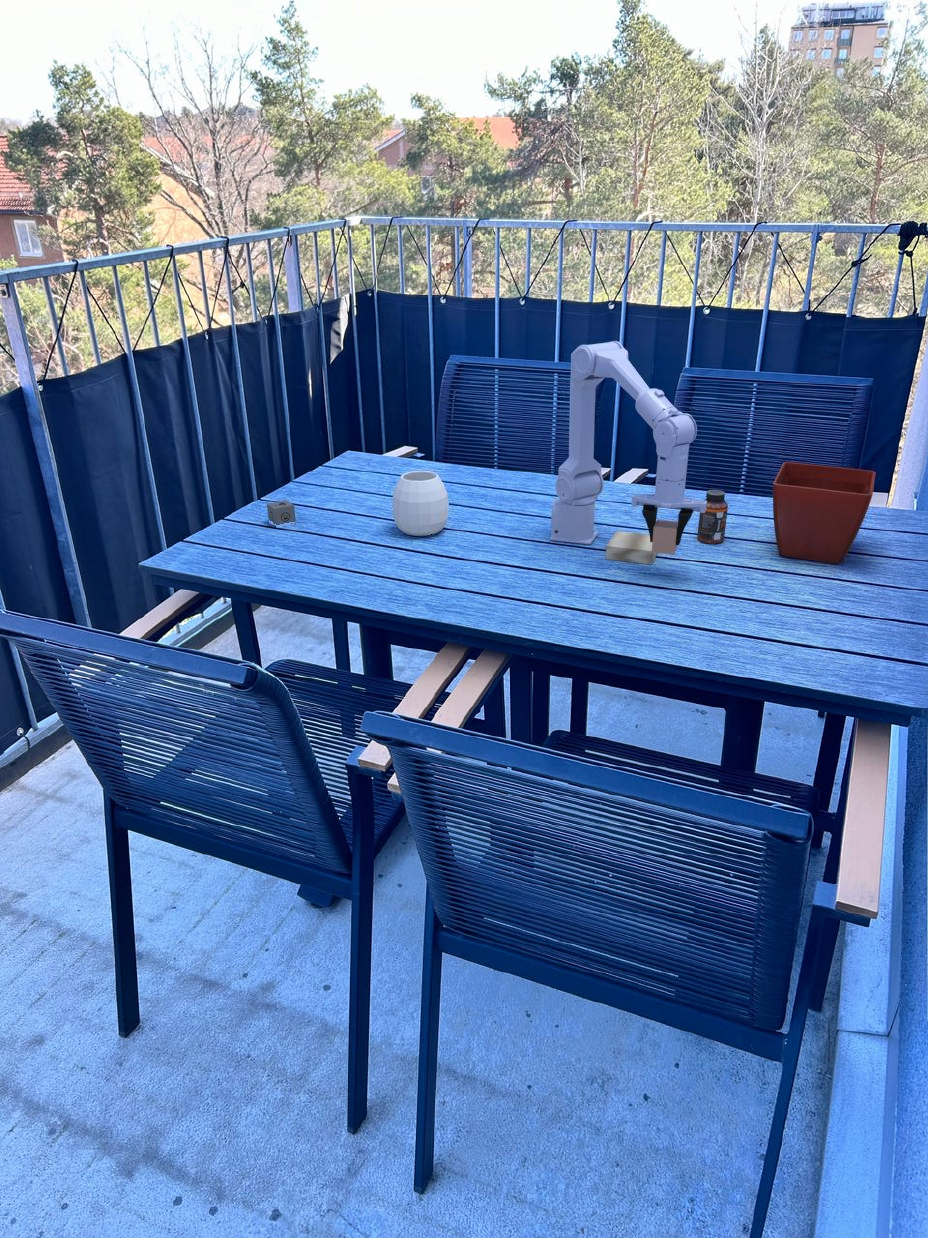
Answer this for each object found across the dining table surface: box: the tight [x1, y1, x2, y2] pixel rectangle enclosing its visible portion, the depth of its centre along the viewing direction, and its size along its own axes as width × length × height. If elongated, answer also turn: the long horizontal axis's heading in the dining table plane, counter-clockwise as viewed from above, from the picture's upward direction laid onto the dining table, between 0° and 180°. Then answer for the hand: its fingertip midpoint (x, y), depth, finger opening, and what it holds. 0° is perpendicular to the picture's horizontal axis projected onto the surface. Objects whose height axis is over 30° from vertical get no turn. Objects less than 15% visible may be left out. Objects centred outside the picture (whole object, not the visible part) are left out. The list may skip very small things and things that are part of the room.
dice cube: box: [266, 499, 297, 525], centre depth 215 cm, size 5×5×5 cm
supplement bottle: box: [697, 489, 729, 545], centre depth 199 cm, size 6×6×11 cm
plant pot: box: [772, 461, 877, 565], centre depth 191 cm, size 19×19×17 cm
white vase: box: [391, 470, 450, 537], centre depth 207 cm, size 13×13×14 cm
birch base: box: [605, 530, 658, 565], centre depth 194 cm, size 10×10×3 cm
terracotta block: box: [652, 519, 678, 556], centre depth 180 cm, size 4×4×6 cm
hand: (665, 542), depth 181 cm, fingers closed on terracotta block, 4 cm apart
